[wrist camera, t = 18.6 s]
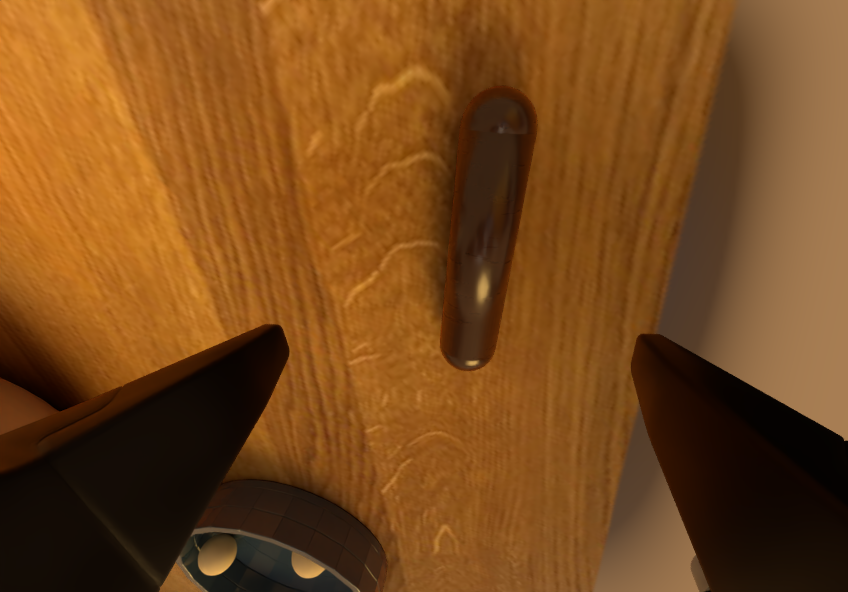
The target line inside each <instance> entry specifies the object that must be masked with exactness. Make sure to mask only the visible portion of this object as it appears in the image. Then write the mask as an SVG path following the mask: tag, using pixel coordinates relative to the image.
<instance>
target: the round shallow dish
mask: <svg viewBox="0 0 848 592" xmlns="http://www.w3.org/2000/svg"><path fill="white" fill-rule="evenodd" d="M218 534H228V535H230V536H232V537H233V538H234V539H235V541H236V544H237V553H236V557H235V559H234V561H233V563H232V564H231V565H230V567H229V568H228V569H226V570H225V571H224V572H222V573H220V574H218V575H213V576H210V575H206V574H204V573H203V572H202V571H201V570H200V568H199V566H198V555H199V552H200V550H201V548H202V546H203V545H204V544H205V542H206V541H207V540H209V539H210V538H211V537H213V536H215V535H218ZM292 552H295V553H297V554H300V555H302V556H304V557H306V558H307V559H309V560H311V561H313V562H314V563H316V564H318V565H319V566H321V567H323V568H324V569H325V570H324V571H323V572H322V573H321V574H319V575H318V576H316V577H313V578H303V577H301V576H299V575H298V574H297V573H296V572H295V570H294V568H293V566H292ZM176 563H177V564H178V566H179V567H180V568H181V570H182V571H183V572H184V574H185V575H186V577H187V578H188V579H189V580H190V581H192V582H193V583H194V584H195V585H196V586H197V587H198V588H199V589H200V590H202V591H203V592H382V591H383V587H384V583H385V579H386V572H387V560H386V556H385V553H384V551H383V549H382V547H381V545H380V544H379V542H378V541H377V539H376V538H375V537H374V536H373V535H372V533H371V532H370V531H369V530H368V529H367V528H366V527H365V526H364V525H363V524H361V523H360V522H359V521H358V520H356V519H355V518H354V517H353V516H351V515H350V514H348V513H347V512H345V511H344V510H342V509H341V508H339V507H337V506H336V505H334V504H332V503H330V502H329V501H327V500H325V499H322V498H320V497H318V496H316V495H314V494H311V493H309V492H306V491H304V490H301V489H298V488H295V487H291V486H288V485H284V484H280V483H276V482H270V481H263V480H237V481H231V482H228V483H225V484H222V485H220V486H219V488H218V490H217V492H216V493H215V495H214V497H213V498H212V500H211V502H210V504H209V505H208V507H207V509H206V510H205V512H204V514H203V516H202V517H201V519H200V521H199V523H198V524H197V526H196V528H195V529H194V531H193V533H192V535H191V536H190V538H189V540H188V541H187V543H186V545H185V547H184V548H183V550H182V552H181V554H180V555H179V557H178V559H177V560H176Z"/></svg>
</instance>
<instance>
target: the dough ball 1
mask: <svg viewBox="0 0 848 592" xmlns="http://www.w3.org/2000/svg"><path fill="white" fill-rule="evenodd" d="M236 553H237V544H236V541H235V539H234V538H233V537H232V536H230V535H228V534H218V535H215V536H213V537H211V538H210V539H209V540H207V541H206V542H205V544H204V545H203V546H202V548H201V550H200V552H199V555H198V566H199V568H200V570H201V571H202V572H203V573H204V574H206V575H210V576H213V575H218V574H220V573H222V572H224V571H225V570H226V569H228V568H229V567H230V565H231V564H232V563H233V561H234V559H235V557H236Z"/></svg>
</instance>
